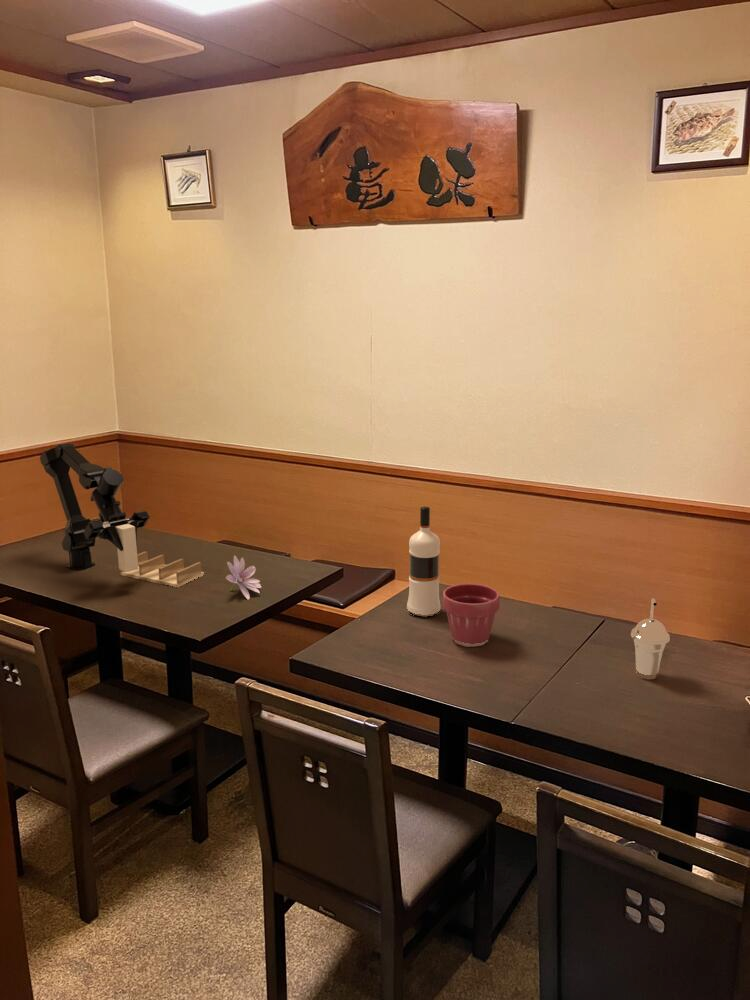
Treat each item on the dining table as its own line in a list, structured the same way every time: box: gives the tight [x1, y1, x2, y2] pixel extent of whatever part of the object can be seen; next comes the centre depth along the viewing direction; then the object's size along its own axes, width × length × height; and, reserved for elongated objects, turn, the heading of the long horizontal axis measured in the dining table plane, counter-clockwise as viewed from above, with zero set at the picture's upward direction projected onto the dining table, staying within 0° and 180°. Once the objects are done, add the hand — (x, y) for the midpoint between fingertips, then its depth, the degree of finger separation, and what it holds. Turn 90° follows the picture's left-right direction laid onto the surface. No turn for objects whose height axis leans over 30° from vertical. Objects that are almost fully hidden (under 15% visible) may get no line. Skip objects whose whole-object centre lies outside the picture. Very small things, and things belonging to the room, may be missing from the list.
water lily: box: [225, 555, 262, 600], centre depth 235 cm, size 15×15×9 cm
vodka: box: [406, 506, 442, 615], centre depth 217 cm, size 9×9×30 cm
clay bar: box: [115, 524, 138, 572], centre depth 233 cm, size 4×4×13 cm
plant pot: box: [442, 583, 500, 644], centre depth 202 cm, size 14×14×13 cm
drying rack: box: [120, 551, 205, 589], centre depth 249 cm, size 23×12×4 cm, turn 62°
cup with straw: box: [630, 597, 671, 675], centre depth 182 cm, size 8×9×20 cm
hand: (129, 548), depth 232 cm, fingers closed on clay bar, 4 cm apart
